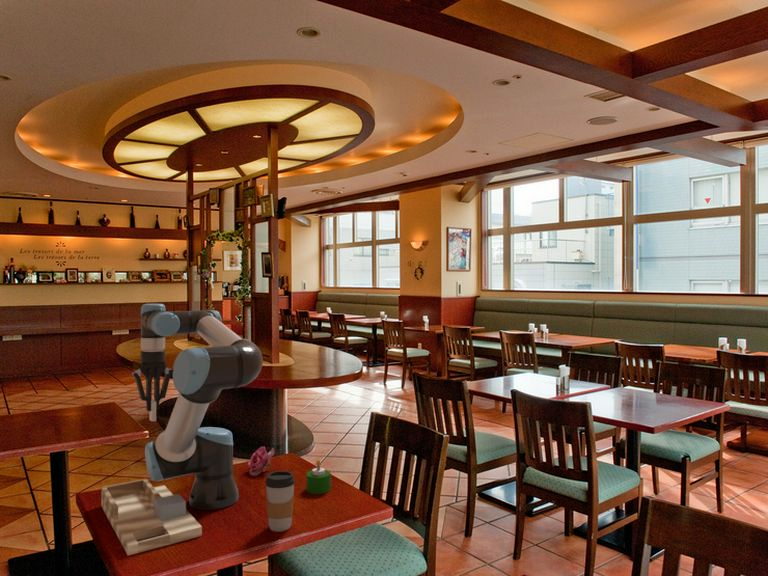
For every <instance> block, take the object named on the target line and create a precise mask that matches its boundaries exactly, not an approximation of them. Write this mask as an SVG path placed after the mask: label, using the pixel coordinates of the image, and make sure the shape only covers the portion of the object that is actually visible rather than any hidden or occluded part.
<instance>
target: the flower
mask: <svg viewBox="0 0 768 576" xmlns="http://www.w3.org/2000/svg"><path fill="white" fill-rule="evenodd" d="M275 452H276V451H275V448H274V447H272V448H271V449H270V450H269V452H268V451H267V449H266V447H265V446H260V447H259V448H258V449H257V450H255V452H254V453H253V454H252V455H251V457H250V461H249V462H248V463H247V465H248V467H249V468H250V469H249V470H248V473H249V474H250V475H251V476H258V475H260V474H261V473H262V472H264V473H265V471H266V470H267V468H273V466H272V464H271V459H272V458H273V456H274V455H275ZM274 469H275V470H276V468H275V467H274Z"/></svg>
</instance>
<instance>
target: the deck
mask: <svg viewBox="0 0 768 576" xmlns="http://www.w3.org/2000/svg"><path fill="white" fill-rule="evenodd" d="M100 495H101V496H100V497H101V508H102V509H103V512H104V514H105V515H106V517H107V519H108V521H109V523H110V525H111V527H112V529H113V530H114V532H115V534H116V536H117V538H118V540H119V542H120V543H121V546H122V547H123V550H124V551H125V553H126V555H127V556H131V555H135V554H139V553H143V552H146V551H151V550H154V549H157V548H161V547H165V546H169V545H173V544H176V543H180V542H183V541H187V540H191V539H194V538H198V537H202V536H203V527H202V525H201V524H200V522H198V521H197V520H196V518H195V517H194V516H193V515H192V514H191V513H190V512H189V510H187V509H186V515H184V516H180V517H176V518H172V519H168V520H164V521H160V520H159V518H158V517H157V516H156V515H155V513H154V499H158V498H163V497H167V496H172V495H174V494H173V493H172V492H171V490H170V489H168V488H167V486H166V485H165V484H164V485H158V486H153V485H152V483H150V481H149V480H148V479H147V478H146V477H145V478H142V479H135V480H130V481H126V482H125V481H124V482H121V483H116V484H110V485H105V486H101V493H100Z"/></svg>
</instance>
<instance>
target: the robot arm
mask: <svg viewBox="0 0 768 576" xmlns="http://www.w3.org/2000/svg"><path fill="white" fill-rule="evenodd" d="M187 334H188V335H190V334H196V335H198V336H200V337H201V338H202V339H203V340H204V341H205V342H206V343H207V344H209V346H205V347H202V346H196V347H192V348H186V349H183V350H182V351H180V352H179V353H178V354H177V356H176V358H175V359H174V363H173V369H172V368H169V367H167V364H166V351H165V348H166V337H171V336H173V335H187ZM140 349H141V352H140V365H139V367H138V369H137V370H136V371H132V372H131V375H132V376H133V378H134V380H135V383H136V388H137V391H138V395H139V399H140V400H141V401H144V402H145V403H146V404H145V409H146V411H147V412H149V415H148V416H149V421H151V422H156V421H157V411H159V410H160V402H161V400H162V399H165V398H166V395H167V391H168V388H169V384H170V383H169V382H170V380H171V376H172V382H173V385H174V389H175V391H177V393H178V395H177V398H176V402H175V404H174V407H173V409H172V411H171V414H170V418H169V420H168V423H167V424H166V427H165V429H164V430H163V431H161V433H159V435H158V436H157V438H156V440H155V441H150V442H148V443H146V444H145V445H144V455H145V457H144V458H145V465H146V469H147V473H148V477H149V478H150V480H151V481H153V482H160V481H168V480H171V479H176V478H180V477H184V476H188V475H194V481H193V485H192V488H191V491H190V494H189V499H188V500H189V502H188V504H189V506H190V507H191V508H192V509H195V510H202V511H209V510H219V509H224V508H226V507H230V506H232V505H234V504H236V503H237V502H238V501H239V489H238V486H237V483H236V480H235V477H234V440H233V439H234V438H233V433H232V431H230V430H229V429H226V428H223V427H216V426H215V427H213V426H204V427H203V426H202V427H201V424H202V422H203V419H204V417H205V415H206V412H207V411H208V408H209V406H210V404H211V403H213V402H214V401H216V400H217V399H218V397H219V396H220V394H221V392H222V390H227V389H236V388H240V387H244V386H247V385H249V384H251V383H252V382H253V381H255V380H256V379H257V377H258V376H259V374H260V373H261V370H262V368H263V362H264V360H263V359H264V358H263V354H262V352H261V350H260V347H258V346H257V345H256V344H255V343H254V342H252V340H249V339H247V338H242V337H241V336H239V335H238V334H237V333H235V332H234V331H233V330H231V329H230V327H228V326H226V325H225V324H224V323H223V321H222V316H221V312H219V311H218V310H212V309H204V310H175V311H173V310H171V311H168V310H166V306H165V304H163V303H144V304H142V305H141V307H140ZM163 374H164V375H163ZM142 375H143V376H144V377H145V390H144V386H143V381H142V378H141V376H142ZM162 375H163V380H162V384H161V376H162ZM152 384H153V385H152ZM152 387H153V388H152ZM152 390H153V391H152ZM152 393H153V394H152ZM152 398H153V399H152Z"/></svg>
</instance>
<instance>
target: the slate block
mask: <svg viewBox="0 0 768 576" xmlns="http://www.w3.org/2000/svg"><path fill="white" fill-rule="evenodd" d="M186 510H187V501H186V500H185V499H184V498H183V497H182V496H181V495H180V493H178V494H177V493H176V494H173V495H172V496H167V497H163V498H158V499H154V513H155V515H156V516H157V517H158V518H159V520H160V521H164V520H168V519H172V518H176V517H180V516H184V515H186Z"/></svg>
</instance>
